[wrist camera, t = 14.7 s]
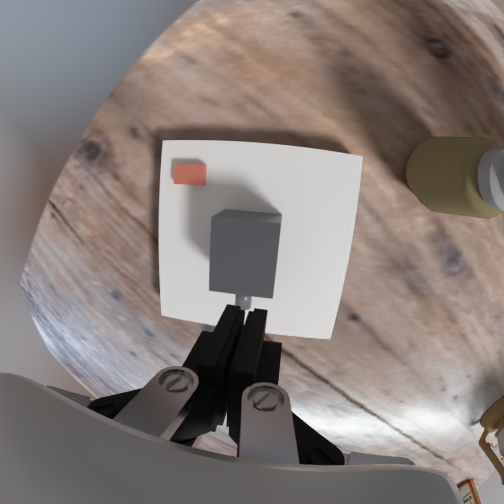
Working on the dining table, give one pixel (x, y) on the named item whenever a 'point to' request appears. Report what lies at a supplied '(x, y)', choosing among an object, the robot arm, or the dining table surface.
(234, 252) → the plug
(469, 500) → the baking soda box
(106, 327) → the dining table surface
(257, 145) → the socket
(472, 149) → the squeeze bottle
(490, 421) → the lantern
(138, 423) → the robot arm
